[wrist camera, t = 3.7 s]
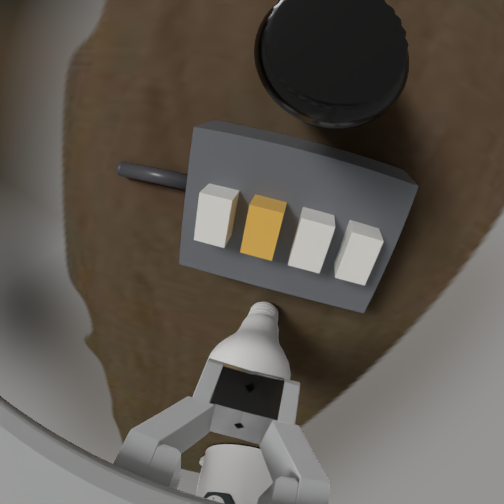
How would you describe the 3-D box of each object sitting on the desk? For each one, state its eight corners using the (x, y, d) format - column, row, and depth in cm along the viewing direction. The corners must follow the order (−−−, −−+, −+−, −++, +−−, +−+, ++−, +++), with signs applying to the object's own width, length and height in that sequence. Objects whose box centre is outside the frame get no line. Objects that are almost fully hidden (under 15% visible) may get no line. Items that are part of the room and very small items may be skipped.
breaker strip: (403, 169, 21) (427, 196, 16) (359, 282, 26) (365, 329, 21) (125, 108, 22) (79, 118, 17) (120, 218, 27) (82, 248, 22)
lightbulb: (314, 308, 28) (304, 413, 18) (269, 341, 31) (245, 437, 21) (261, 266, 27) (228, 366, 17) (219, 305, 30) (178, 398, 20)
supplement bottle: (397, 74, 18) (475, 66, 7) (328, 136, 21) (338, 185, 10) (324, 4, 16) (327, -75, 6) (255, 68, 19) (190, 49, 9)
